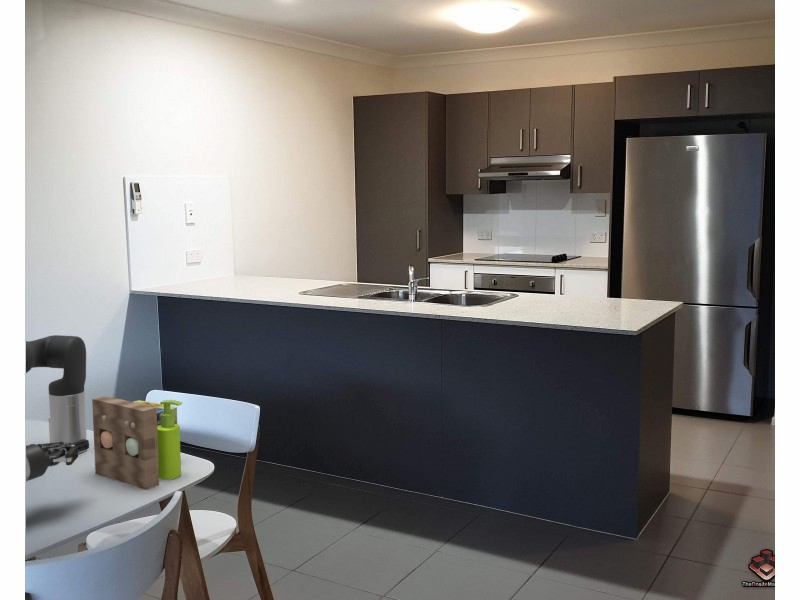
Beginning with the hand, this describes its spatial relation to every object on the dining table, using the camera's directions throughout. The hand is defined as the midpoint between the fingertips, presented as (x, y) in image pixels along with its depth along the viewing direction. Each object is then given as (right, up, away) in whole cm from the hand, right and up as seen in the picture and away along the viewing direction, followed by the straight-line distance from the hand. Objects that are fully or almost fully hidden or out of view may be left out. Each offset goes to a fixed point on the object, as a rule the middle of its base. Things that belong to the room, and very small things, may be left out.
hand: (86, 443), depth 182 cm
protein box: (+5, -10, +27) cm, 29 cm away
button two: (+9, -4, +10) cm, 14 cm away
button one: (0, -4, +15) cm, 16 cm away
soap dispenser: (+15, -12, +17) cm, 25 cm away
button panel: (+5, -12, +14) cm, 19 cm away
